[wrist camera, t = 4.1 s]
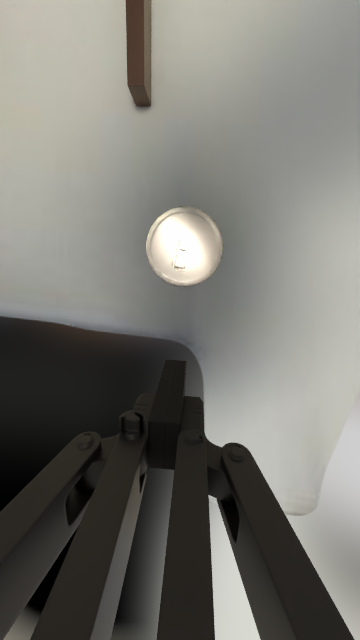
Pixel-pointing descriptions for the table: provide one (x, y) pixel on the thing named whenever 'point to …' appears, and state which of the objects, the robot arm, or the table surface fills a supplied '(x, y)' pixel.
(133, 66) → the corner
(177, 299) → the table surface
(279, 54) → the table surface
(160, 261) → the green soda can
